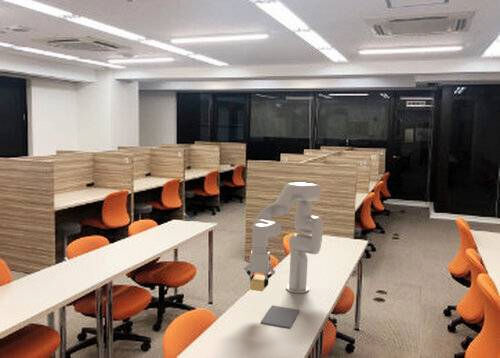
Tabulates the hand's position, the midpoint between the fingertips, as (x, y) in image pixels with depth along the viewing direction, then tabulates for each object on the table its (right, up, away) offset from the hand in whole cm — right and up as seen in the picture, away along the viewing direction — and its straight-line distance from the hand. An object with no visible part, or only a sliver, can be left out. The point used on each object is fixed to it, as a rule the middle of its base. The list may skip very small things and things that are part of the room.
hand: (259, 285), depth 218 cm
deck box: (0, -1, 0) cm, 1 cm away
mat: (+10, -15, -2) cm, 18 cm away
